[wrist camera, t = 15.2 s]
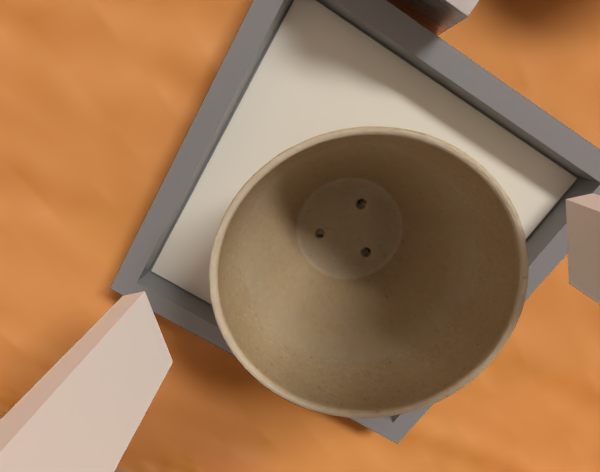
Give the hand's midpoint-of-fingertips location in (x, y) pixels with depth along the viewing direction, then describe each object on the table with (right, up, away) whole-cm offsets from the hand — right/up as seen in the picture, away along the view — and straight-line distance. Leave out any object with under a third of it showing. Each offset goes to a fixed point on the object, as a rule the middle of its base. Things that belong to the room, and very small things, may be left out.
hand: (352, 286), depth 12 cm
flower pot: (+1, +2, +7) cm, 7 cm away
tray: (+1, +2, +8) cm, 8 cm away
